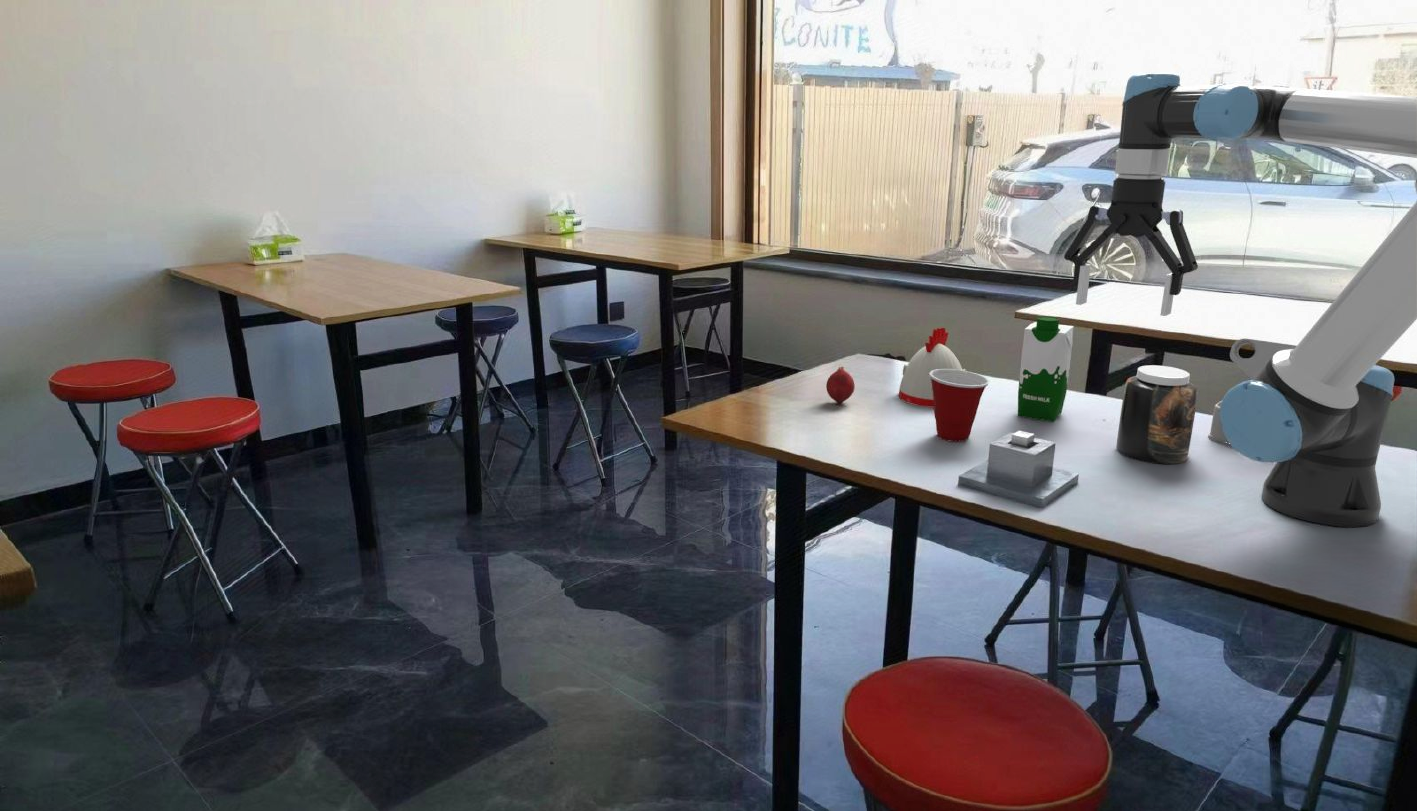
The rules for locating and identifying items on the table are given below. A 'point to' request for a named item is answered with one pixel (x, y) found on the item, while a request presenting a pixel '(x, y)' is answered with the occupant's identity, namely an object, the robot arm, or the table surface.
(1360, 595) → the table surface
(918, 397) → the chicken hat
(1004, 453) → the block
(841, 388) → the onion
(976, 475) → the stand
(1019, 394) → the milk carton
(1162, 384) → the jar
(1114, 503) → the table surface
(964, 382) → the plastic cup
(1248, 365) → the phone holder
